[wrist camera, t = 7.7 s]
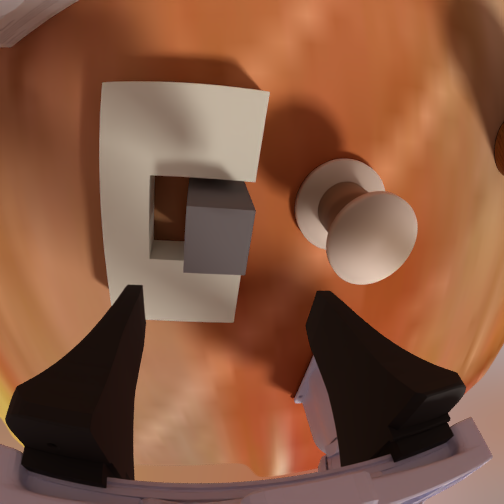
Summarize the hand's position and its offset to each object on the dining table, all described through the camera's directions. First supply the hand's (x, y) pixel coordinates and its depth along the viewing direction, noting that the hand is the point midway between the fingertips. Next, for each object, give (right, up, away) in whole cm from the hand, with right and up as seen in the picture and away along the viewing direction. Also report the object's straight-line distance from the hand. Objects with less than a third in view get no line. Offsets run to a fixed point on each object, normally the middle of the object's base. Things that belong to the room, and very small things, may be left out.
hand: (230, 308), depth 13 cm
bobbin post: (+7, +6, +9) cm, 13 cm away
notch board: (-4, +5, +8) cm, 10 cm away
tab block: (-2, +5, +8) cm, 10 cm away
